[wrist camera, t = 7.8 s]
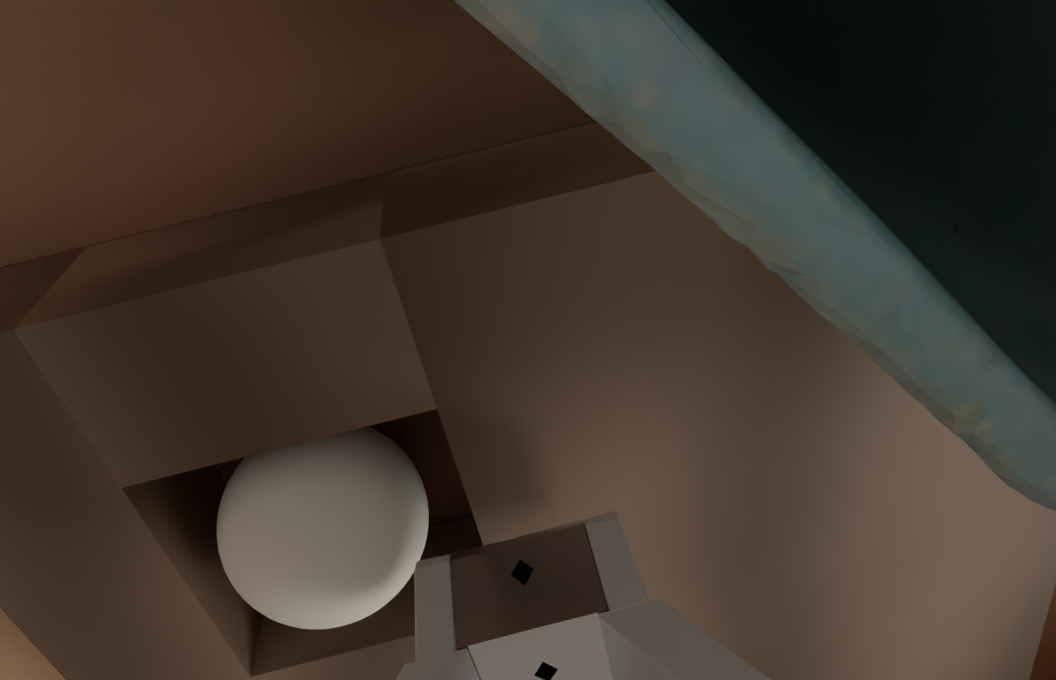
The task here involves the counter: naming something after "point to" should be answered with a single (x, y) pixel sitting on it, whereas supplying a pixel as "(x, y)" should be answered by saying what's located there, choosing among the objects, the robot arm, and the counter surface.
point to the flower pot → (856, 173)
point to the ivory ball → (323, 528)
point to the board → (492, 426)
